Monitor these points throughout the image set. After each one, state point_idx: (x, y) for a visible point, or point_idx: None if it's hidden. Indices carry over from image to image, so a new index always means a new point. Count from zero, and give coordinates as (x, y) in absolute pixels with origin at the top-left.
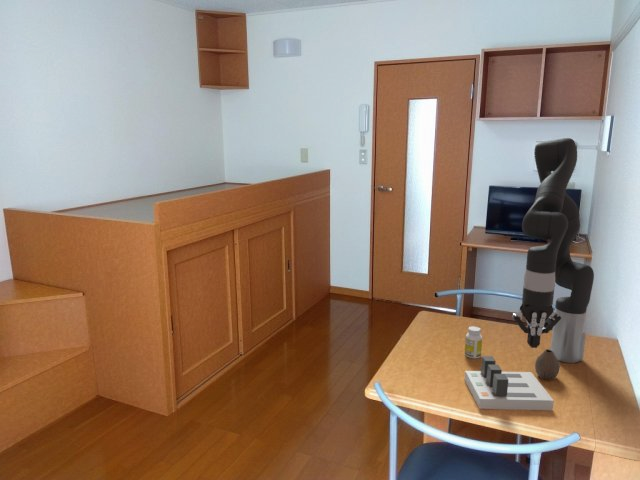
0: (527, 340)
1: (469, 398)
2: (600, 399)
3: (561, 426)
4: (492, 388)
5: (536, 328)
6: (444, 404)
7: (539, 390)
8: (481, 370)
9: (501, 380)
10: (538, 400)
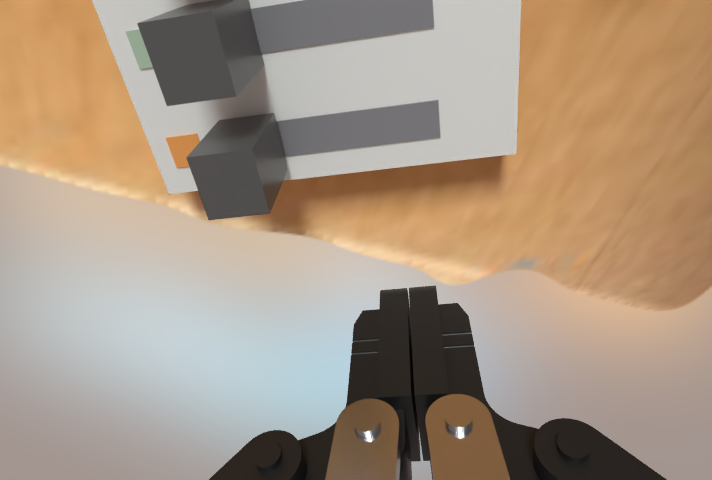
0: (353, 342)
1: None
2: None
3: (489, 239)
4: (216, 123)
5: (462, 463)
6: (43, 163)
7: (481, 60)
8: None
9: (233, 214)
10: (439, 161)
